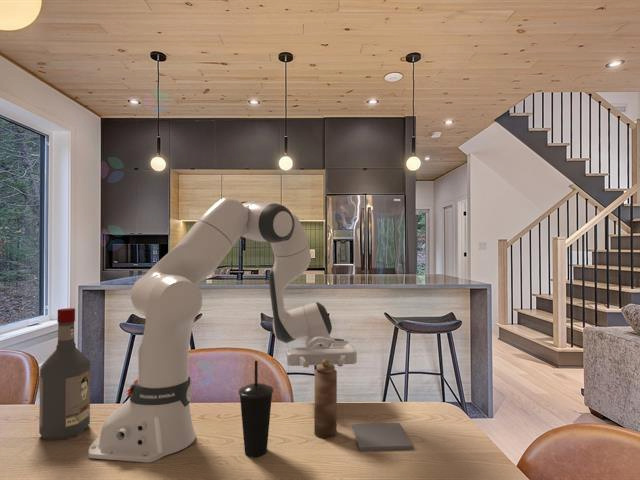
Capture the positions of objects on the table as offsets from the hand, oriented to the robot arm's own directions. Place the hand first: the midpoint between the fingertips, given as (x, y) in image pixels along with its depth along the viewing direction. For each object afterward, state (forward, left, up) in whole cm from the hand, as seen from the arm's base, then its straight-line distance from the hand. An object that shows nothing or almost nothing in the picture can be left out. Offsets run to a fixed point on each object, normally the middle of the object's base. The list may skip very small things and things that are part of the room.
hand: (323, 364), depth 111 cm
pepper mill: (0, -12, -13) cm, 18 cm away
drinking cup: (-16, -20, -13) cm, 29 cm away
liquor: (-64, -7, -13) cm, 66 cm away
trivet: (+13, -15, -13) cm, 24 cm away
